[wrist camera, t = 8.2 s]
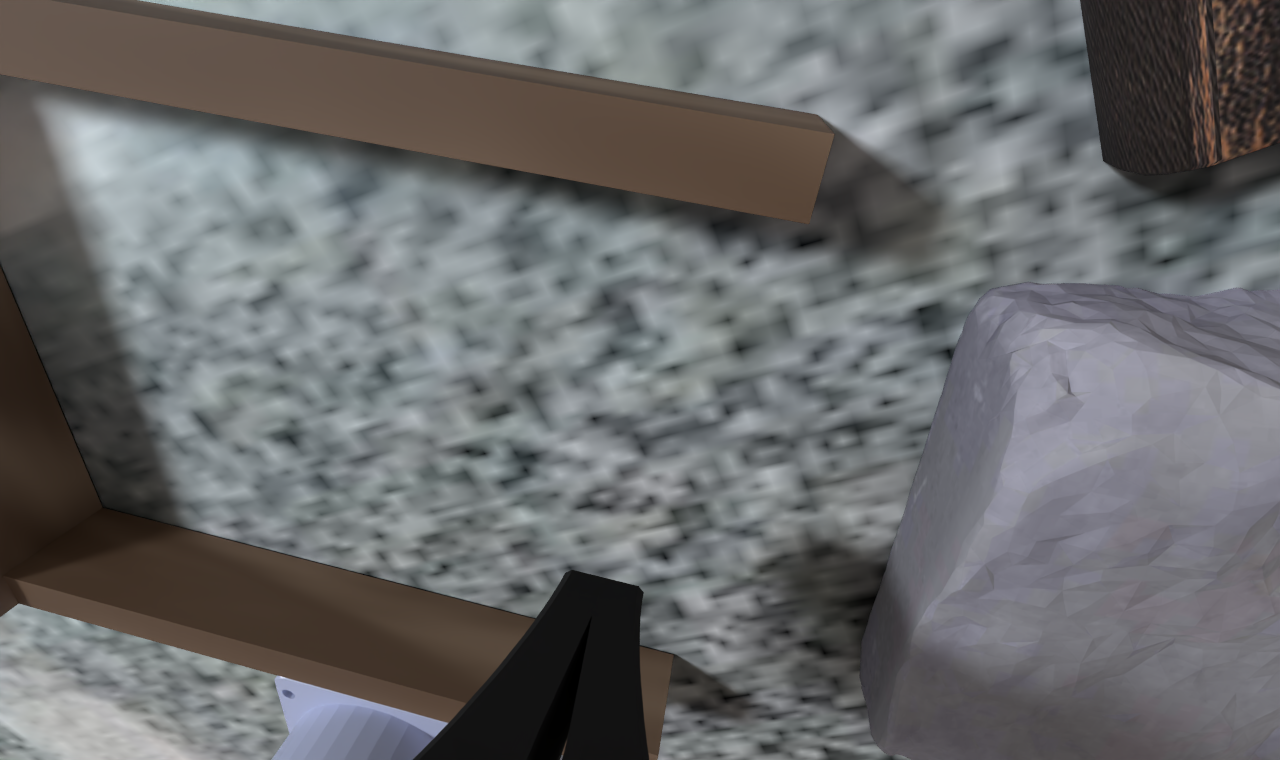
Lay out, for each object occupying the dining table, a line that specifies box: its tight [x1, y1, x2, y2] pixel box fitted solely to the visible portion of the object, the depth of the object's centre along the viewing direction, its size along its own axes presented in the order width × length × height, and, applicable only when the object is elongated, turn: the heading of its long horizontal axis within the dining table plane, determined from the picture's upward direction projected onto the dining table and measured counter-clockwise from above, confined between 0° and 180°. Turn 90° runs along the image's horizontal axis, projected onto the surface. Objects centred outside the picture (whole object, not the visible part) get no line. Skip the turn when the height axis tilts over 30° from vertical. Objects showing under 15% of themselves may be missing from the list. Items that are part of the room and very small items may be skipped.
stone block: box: [860, 282, 1280, 760], centre depth 12 cm, size 12×5×10 cm
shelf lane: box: [0, 0, 835, 760], centre depth 14 cm, size 16×21×4 cm
